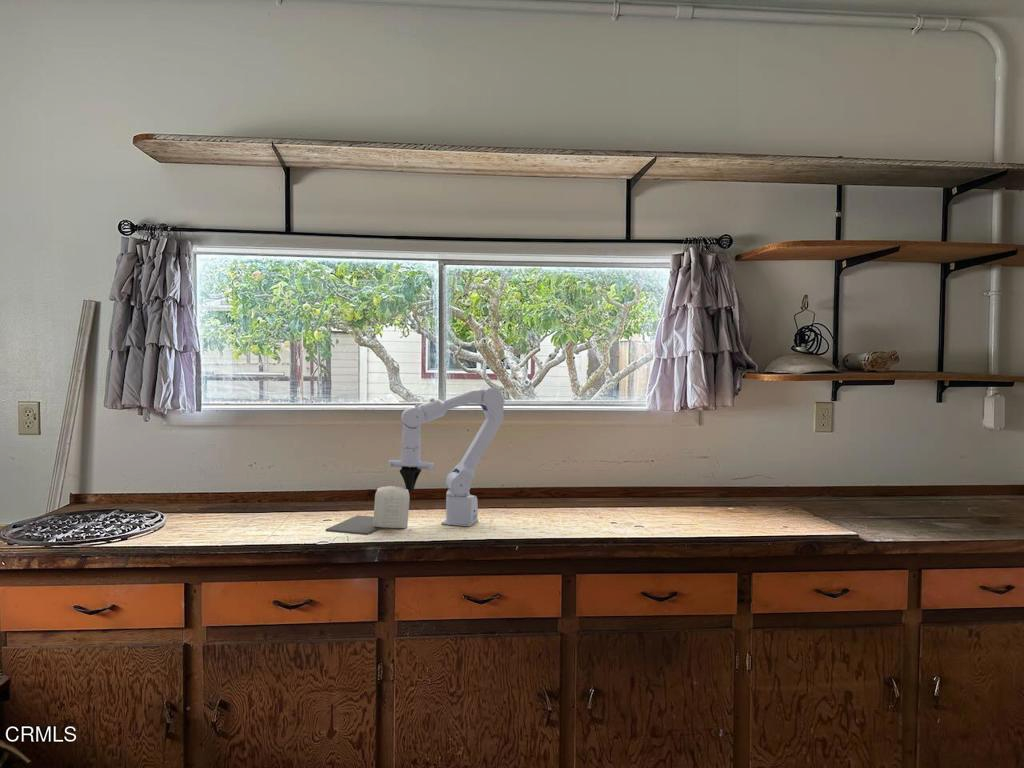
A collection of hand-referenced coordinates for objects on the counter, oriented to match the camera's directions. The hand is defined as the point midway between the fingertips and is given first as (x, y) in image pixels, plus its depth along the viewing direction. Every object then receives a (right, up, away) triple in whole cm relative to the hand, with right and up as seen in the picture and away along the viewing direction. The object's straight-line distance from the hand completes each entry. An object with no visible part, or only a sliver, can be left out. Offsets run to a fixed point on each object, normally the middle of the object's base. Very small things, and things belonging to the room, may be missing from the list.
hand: (410, 491), depth 192 cm
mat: (-15, -10, +1) cm, 18 cm away
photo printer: (-6, -10, -2) cm, 12 cm away
